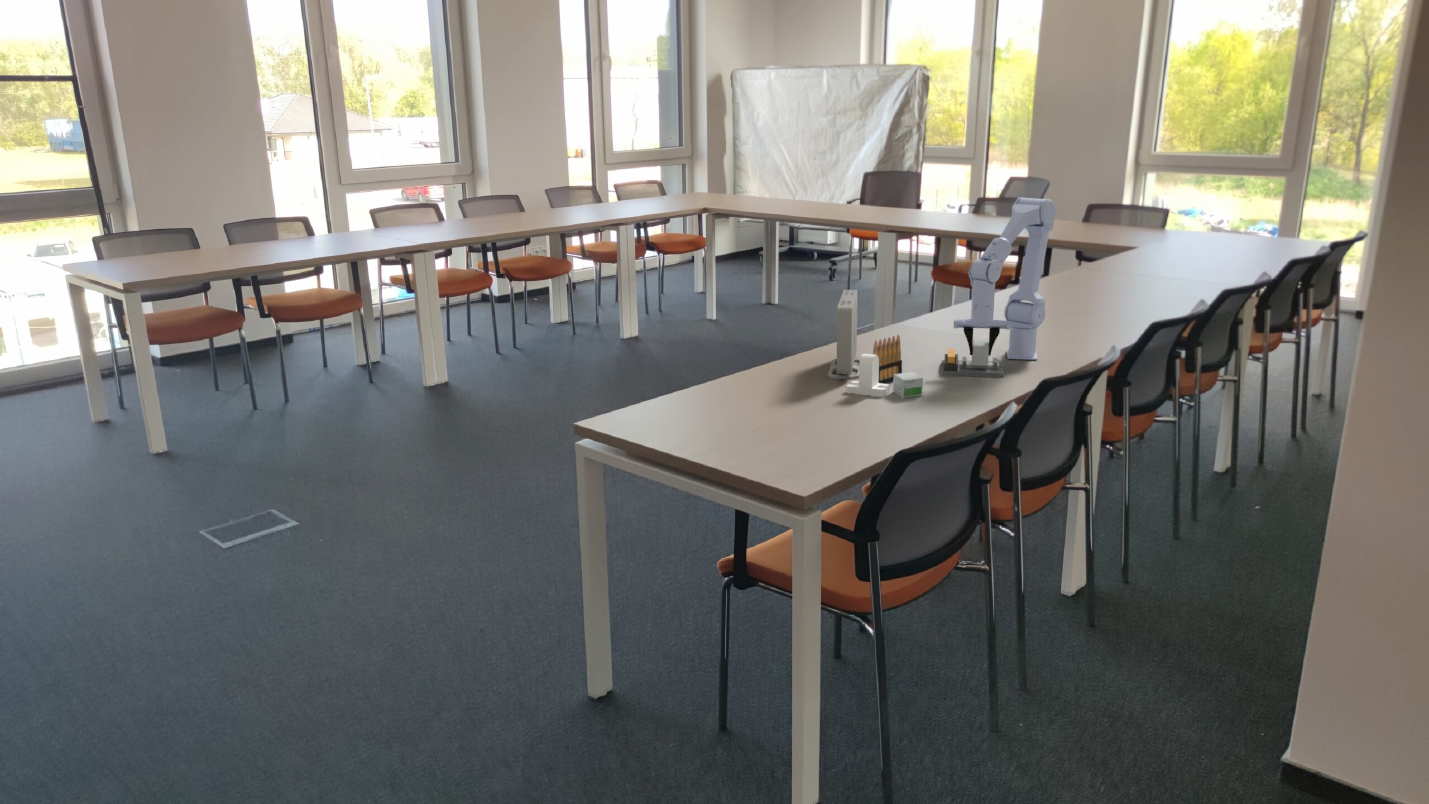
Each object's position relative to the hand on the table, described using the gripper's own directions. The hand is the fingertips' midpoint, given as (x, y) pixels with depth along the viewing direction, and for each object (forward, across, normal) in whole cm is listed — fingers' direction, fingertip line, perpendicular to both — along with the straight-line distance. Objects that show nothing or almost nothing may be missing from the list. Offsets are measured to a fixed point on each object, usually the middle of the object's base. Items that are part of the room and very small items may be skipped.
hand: (980, 354), depth 258 cm
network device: (+5, -36, -3) cm, 36 cm away
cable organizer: (+5, -28, -24) cm, 37 cm away
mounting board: (+4, -2, 0) cm, 5 cm away
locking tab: (+2, -8, 0) cm, 8 cm away
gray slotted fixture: (+3, -2, 0) cm, 4 cm away
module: (+3, 0, 0) cm, 3 cm away
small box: (+5, -18, -24) cm, 30 cm away
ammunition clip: (+5, -24, -14) cm, 28 cm away
